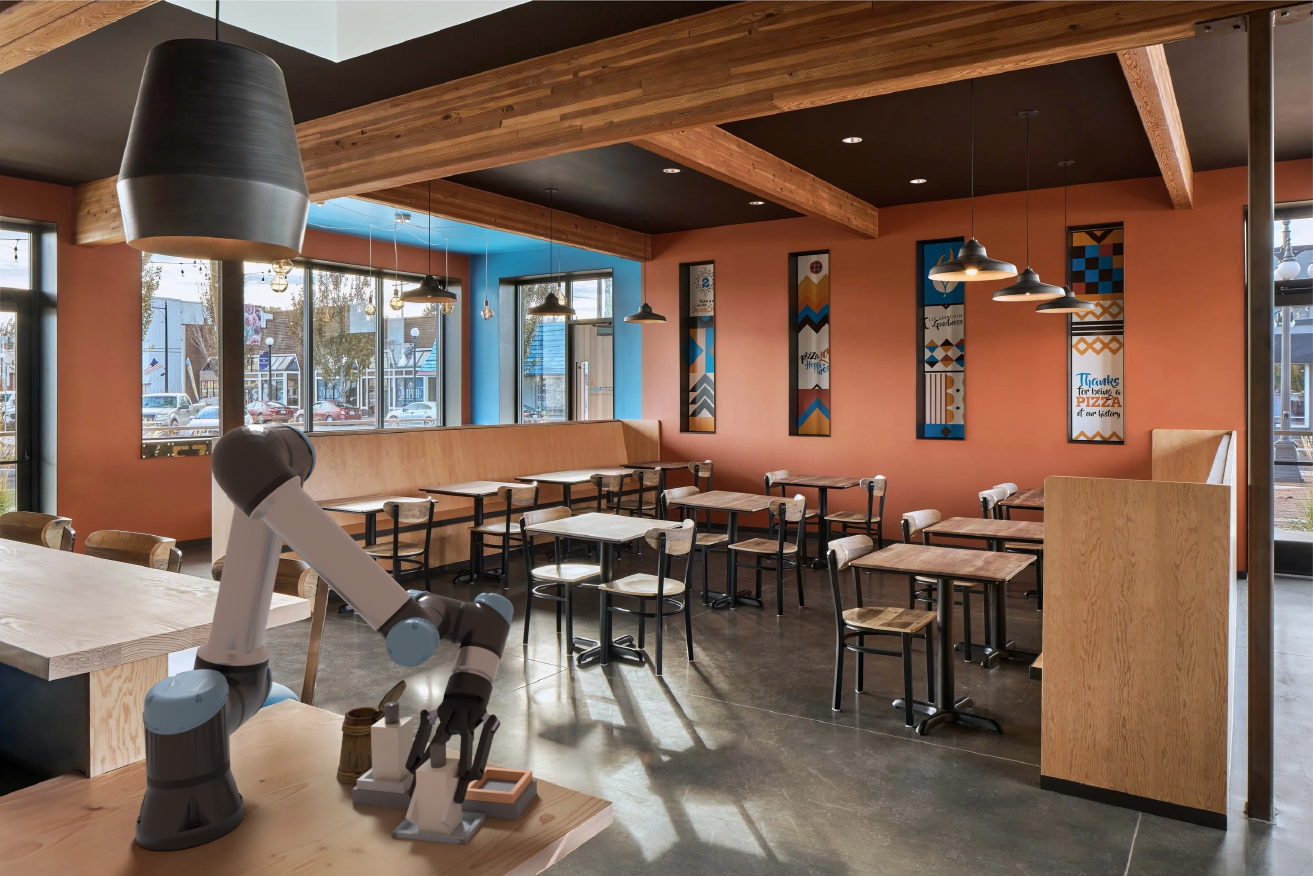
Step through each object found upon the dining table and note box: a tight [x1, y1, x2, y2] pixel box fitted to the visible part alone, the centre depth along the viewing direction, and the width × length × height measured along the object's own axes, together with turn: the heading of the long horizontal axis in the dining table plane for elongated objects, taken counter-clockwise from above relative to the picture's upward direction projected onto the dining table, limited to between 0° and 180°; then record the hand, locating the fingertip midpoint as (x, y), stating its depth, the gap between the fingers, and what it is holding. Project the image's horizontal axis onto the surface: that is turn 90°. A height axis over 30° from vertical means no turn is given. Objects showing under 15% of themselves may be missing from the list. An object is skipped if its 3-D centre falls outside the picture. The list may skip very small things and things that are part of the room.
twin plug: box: [371, 701, 415, 782], centre depth 141 cm, size 5×5×13 cm
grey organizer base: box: [351, 766, 538, 821], centre depth 139 cm, size 29×9×4 cm, turn 78°
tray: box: [391, 811, 487, 846], centre depth 130 cm, size 12×8×1 cm, turn 78°
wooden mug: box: [336, 679, 407, 785], centre depth 150 cm, size 9×14×18 cm, turn 72°
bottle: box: [416, 743, 462, 835], centre depth 130 cm, size 5×5×13 cm
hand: (428, 822), depth 126 cm, fingers closed on bottle, 5 cm apart
